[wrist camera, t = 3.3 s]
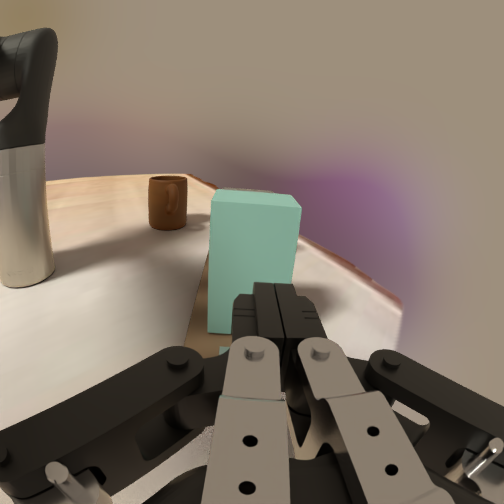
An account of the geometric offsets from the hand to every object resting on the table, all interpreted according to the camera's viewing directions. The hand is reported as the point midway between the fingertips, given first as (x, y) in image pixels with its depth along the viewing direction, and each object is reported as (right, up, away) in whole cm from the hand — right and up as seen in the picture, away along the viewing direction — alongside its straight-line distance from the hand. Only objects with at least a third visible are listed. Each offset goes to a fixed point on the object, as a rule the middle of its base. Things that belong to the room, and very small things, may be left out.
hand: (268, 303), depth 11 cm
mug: (-16, +6, +43) cm, 47 cm away
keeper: (-1, -4, +15) cm, 16 cm away
